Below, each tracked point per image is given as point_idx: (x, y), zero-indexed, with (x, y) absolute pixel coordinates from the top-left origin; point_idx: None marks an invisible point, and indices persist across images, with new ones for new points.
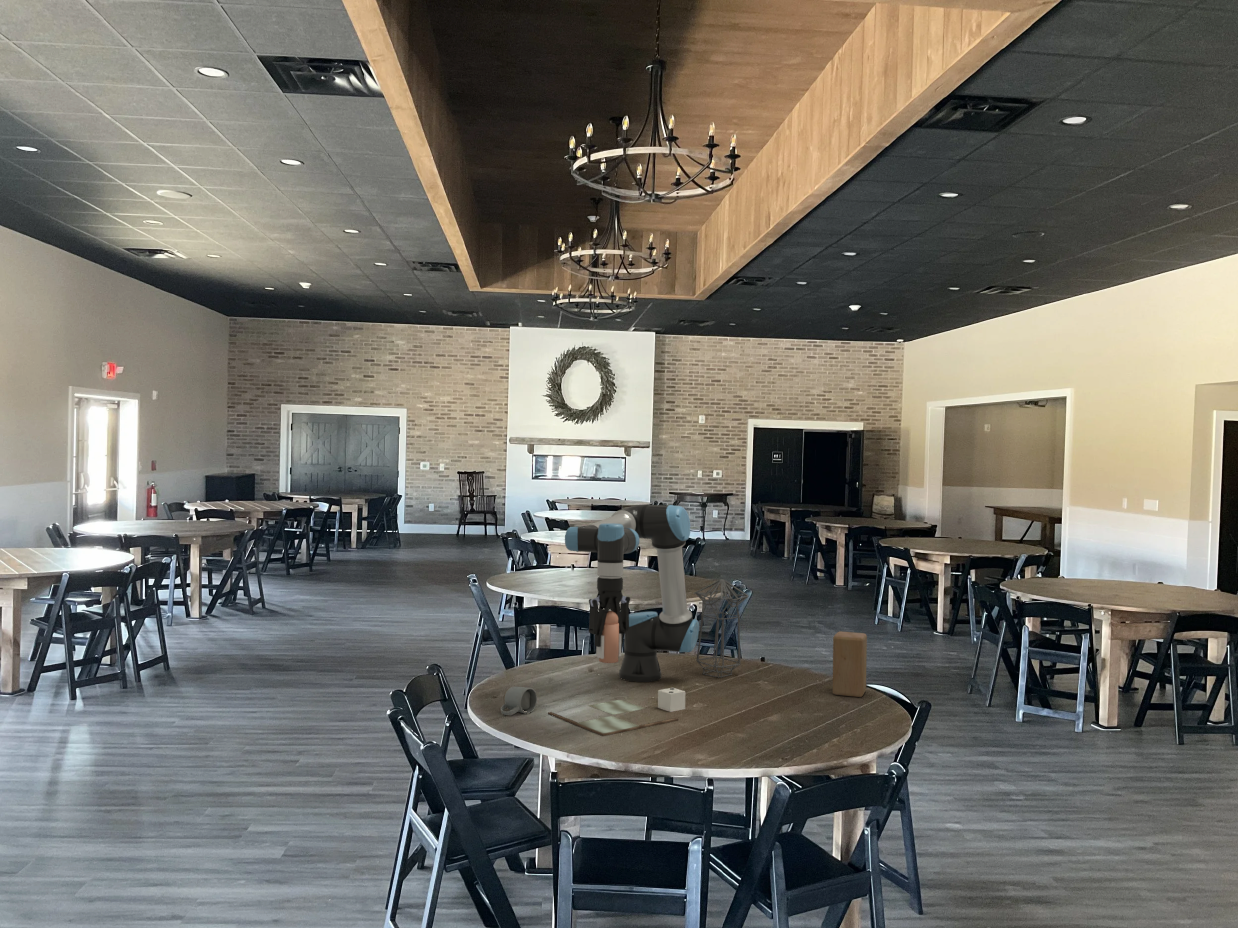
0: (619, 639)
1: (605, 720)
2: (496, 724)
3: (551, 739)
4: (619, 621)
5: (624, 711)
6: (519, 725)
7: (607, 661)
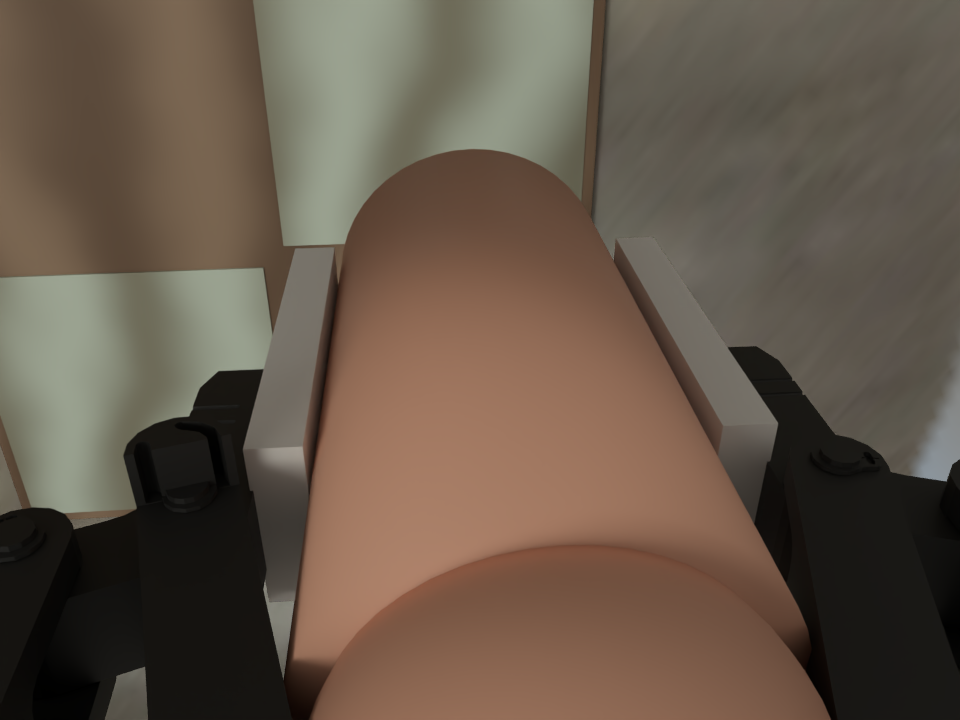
0: (308, 381)
1: (389, 177)
2: (904, 451)
3: (920, 42)
4: (262, 689)
5: (147, 289)
6: (835, 383)
7: (568, 193)
